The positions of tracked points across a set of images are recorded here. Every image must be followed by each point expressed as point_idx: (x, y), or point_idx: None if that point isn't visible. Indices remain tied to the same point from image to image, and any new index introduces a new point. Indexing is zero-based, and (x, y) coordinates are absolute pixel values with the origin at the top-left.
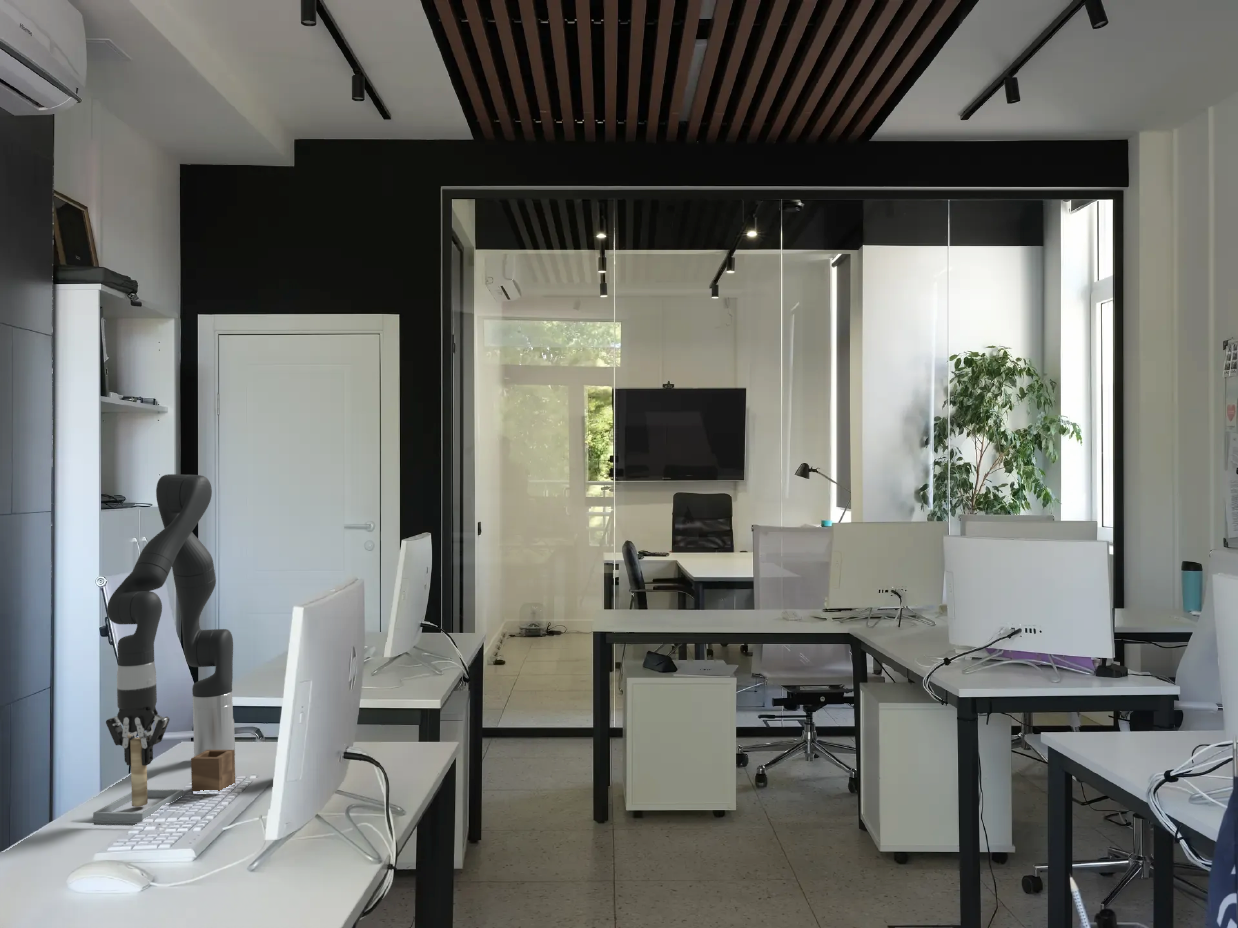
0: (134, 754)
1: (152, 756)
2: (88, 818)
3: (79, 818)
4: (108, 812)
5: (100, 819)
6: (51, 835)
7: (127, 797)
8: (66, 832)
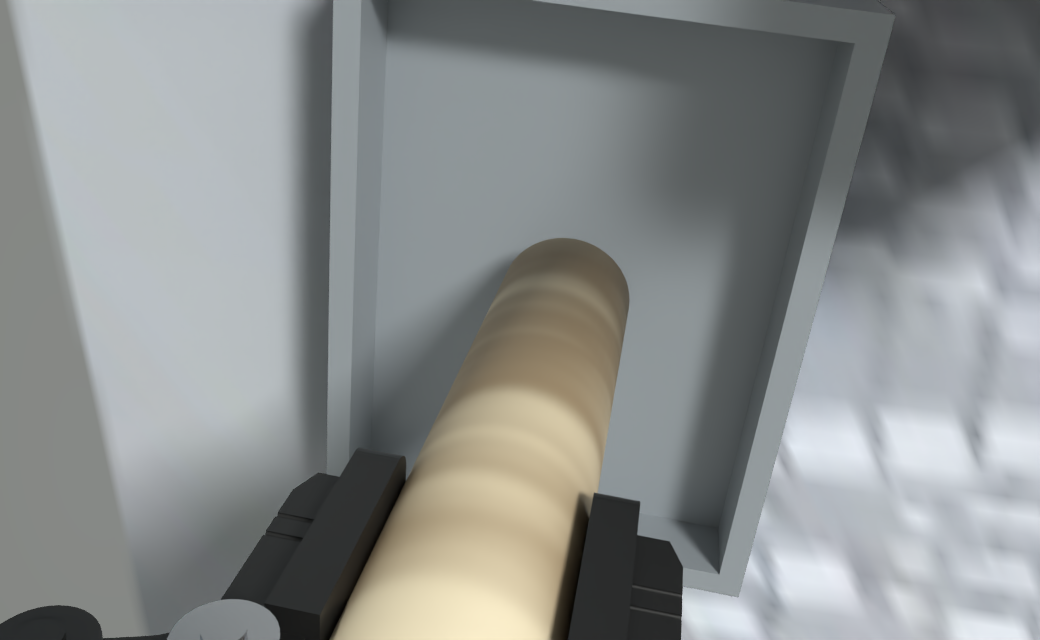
0: None
1: (681, 602)
2: (233, 337)
3: (166, 328)
4: None
5: None
6: (206, 580)
7: (363, 146)
8: None
